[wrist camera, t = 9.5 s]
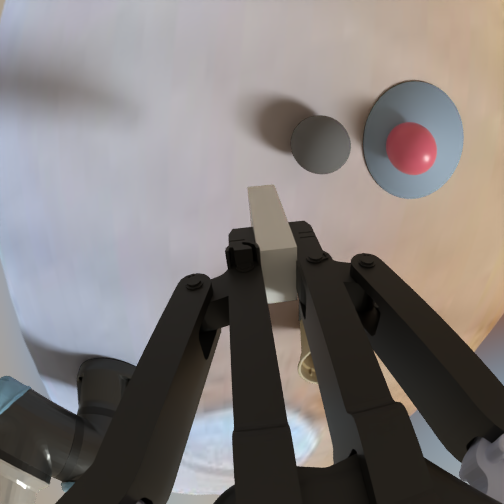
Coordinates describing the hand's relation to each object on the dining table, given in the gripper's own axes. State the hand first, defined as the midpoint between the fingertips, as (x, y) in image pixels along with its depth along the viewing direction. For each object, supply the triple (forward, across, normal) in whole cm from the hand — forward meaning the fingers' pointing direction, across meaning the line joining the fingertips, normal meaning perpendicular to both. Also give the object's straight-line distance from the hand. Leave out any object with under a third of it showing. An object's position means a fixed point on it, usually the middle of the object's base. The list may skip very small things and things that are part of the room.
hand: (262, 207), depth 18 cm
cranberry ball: (+11, -16, 0) cm, 20 cm away
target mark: (+14, -19, 0) cm, 24 cm away
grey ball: (+11, -7, 0) cm, 13 cm away
